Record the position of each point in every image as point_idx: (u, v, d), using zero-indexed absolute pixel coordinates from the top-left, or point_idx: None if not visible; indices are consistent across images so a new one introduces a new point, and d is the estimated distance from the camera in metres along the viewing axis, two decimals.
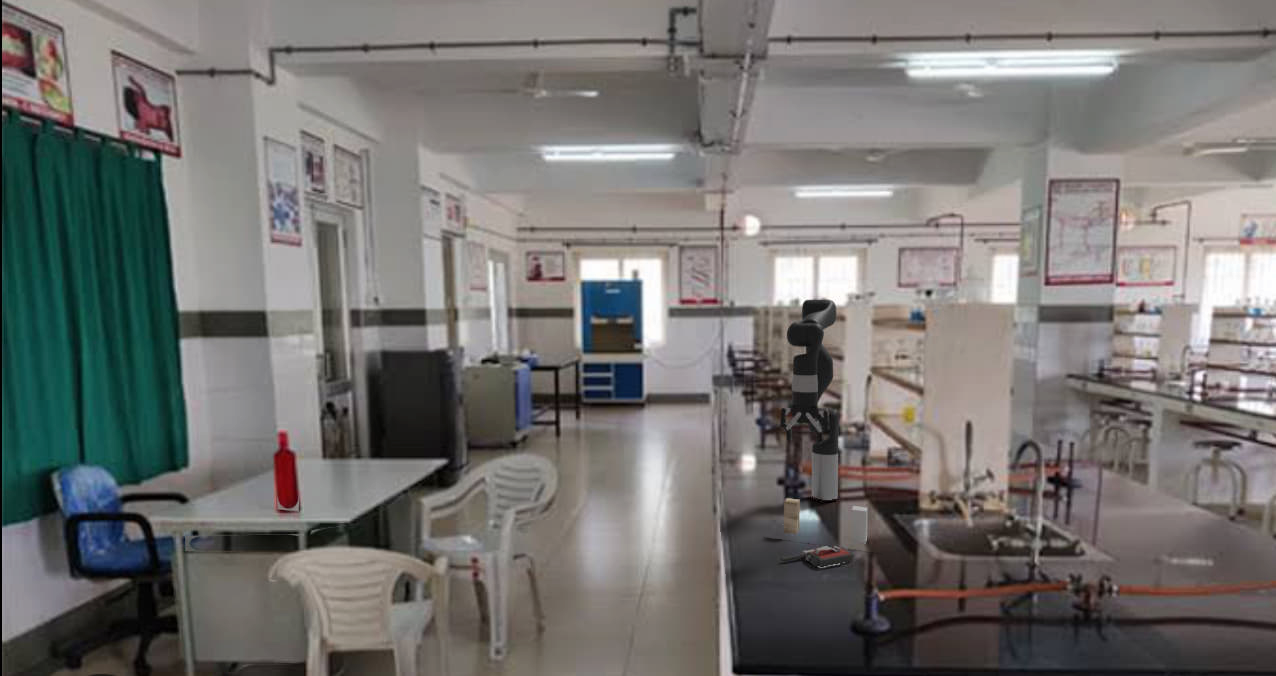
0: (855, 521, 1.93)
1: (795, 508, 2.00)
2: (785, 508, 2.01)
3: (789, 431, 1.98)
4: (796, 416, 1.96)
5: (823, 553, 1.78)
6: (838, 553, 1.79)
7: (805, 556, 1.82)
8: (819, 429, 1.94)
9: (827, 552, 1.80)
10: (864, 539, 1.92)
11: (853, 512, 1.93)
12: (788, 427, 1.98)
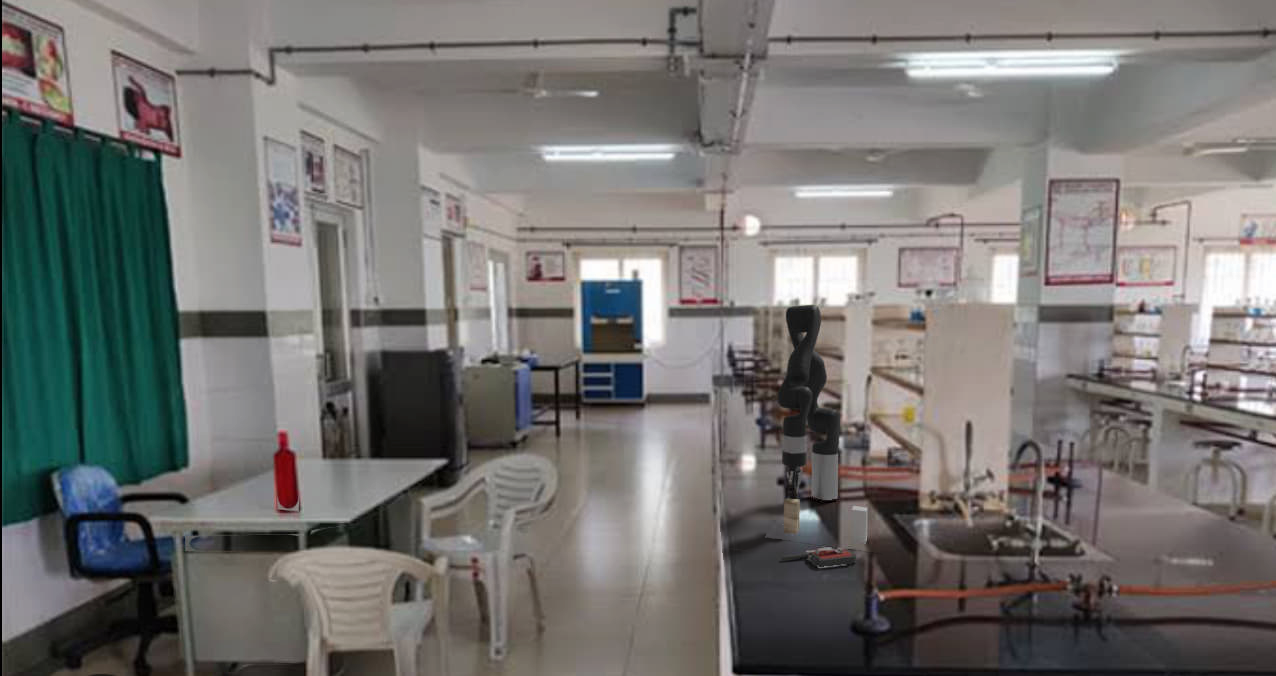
0: (855, 521, 1.93)
1: (795, 508, 2.00)
2: (785, 508, 2.01)
3: (797, 494, 2.05)
4: (799, 477, 2.04)
5: (824, 554, 1.78)
6: (840, 554, 1.78)
7: (807, 556, 1.82)
8: (798, 489, 2.06)
9: (829, 553, 1.79)
10: (864, 539, 1.92)
11: (853, 512, 1.93)
12: (797, 490, 2.05)
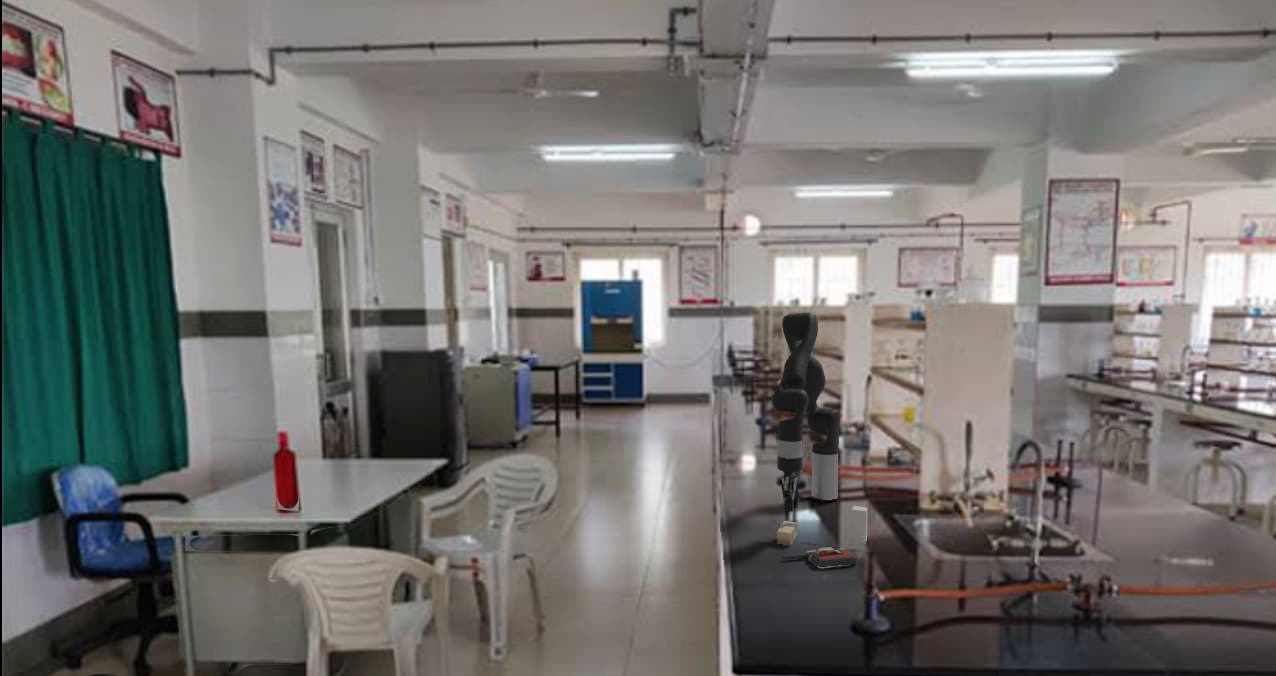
0: (855, 521, 1.93)
1: None
2: None
3: (792, 500, 1.98)
4: (794, 483, 1.97)
5: (824, 553, 1.78)
6: (841, 555, 1.78)
7: (808, 556, 1.82)
8: (794, 495, 1.99)
9: (830, 553, 1.79)
10: (864, 539, 1.92)
11: (853, 512, 1.93)
12: (793, 496, 1.98)
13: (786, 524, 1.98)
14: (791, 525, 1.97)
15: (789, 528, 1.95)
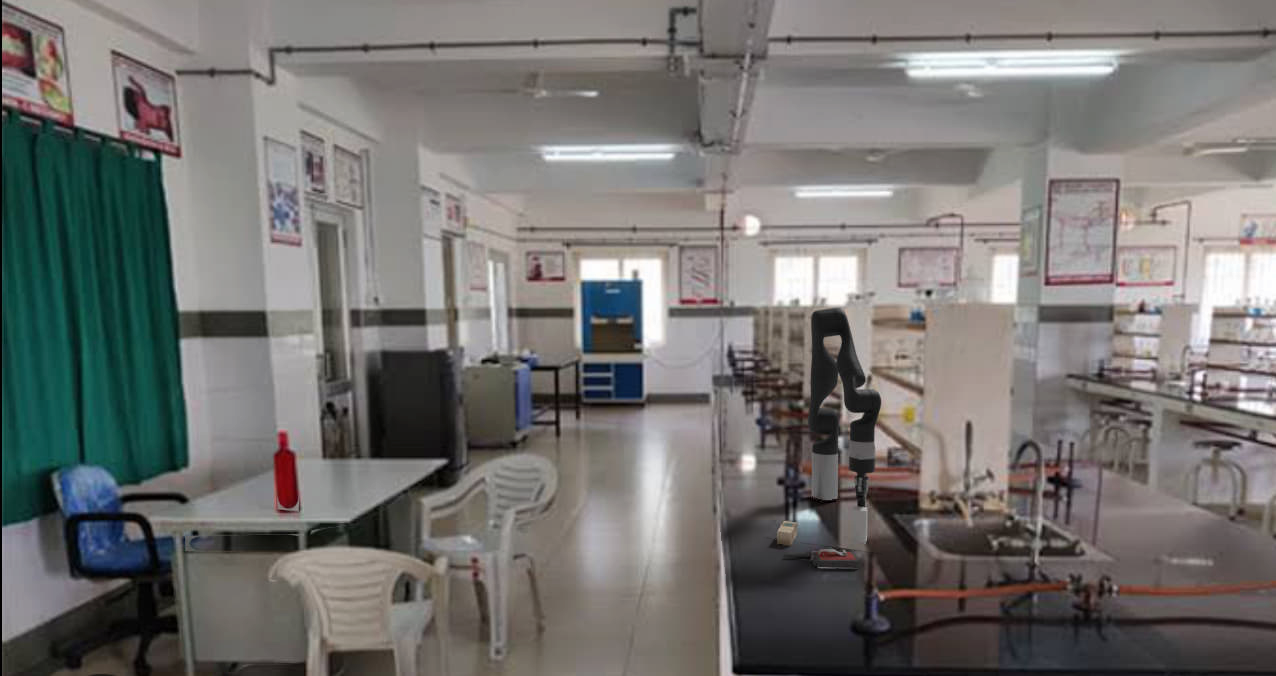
0: (855, 521, 1.93)
1: None
2: None
3: None
4: None
5: (825, 555, 1.77)
6: (842, 557, 1.76)
7: None
8: None
9: (832, 555, 1.78)
10: (864, 539, 1.92)
11: (853, 512, 1.93)
12: (865, 497, 1.97)
13: (786, 524, 1.98)
14: (791, 525, 1.97)
15: (789, 528, 1.95)
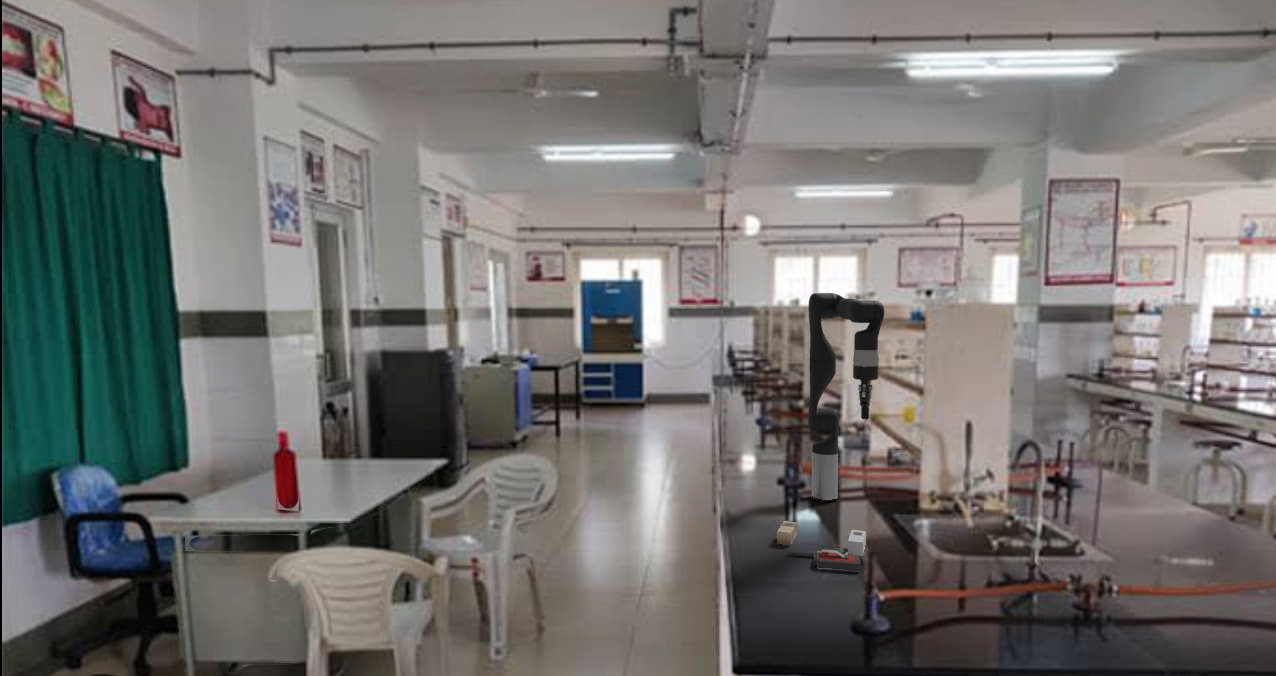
0: None
1: None
2: None
3: (868, 408, 2.05)
4: (871, 391, 2.04)
5: (826, 555, 1.77)
6: (843, 559, 1.75)
7: None
8: (869, 404, 2.06)
9: (833, 556, 1.77)
10: None
11: None
12: (869, 404, 2.05)
13: (786, 524, 1.98)
14: (791, 525, 1.97)
15: (789, 528, 1.95)
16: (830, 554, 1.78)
